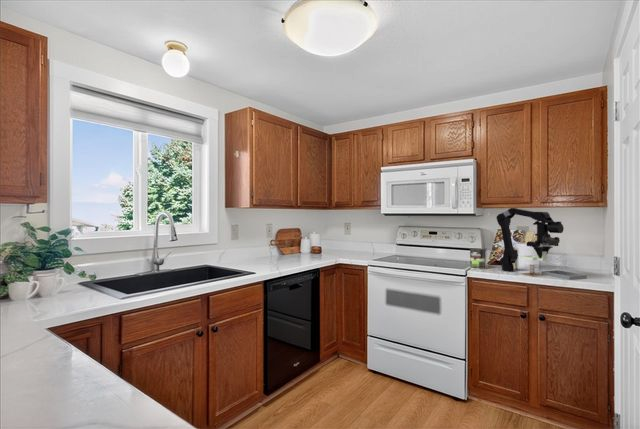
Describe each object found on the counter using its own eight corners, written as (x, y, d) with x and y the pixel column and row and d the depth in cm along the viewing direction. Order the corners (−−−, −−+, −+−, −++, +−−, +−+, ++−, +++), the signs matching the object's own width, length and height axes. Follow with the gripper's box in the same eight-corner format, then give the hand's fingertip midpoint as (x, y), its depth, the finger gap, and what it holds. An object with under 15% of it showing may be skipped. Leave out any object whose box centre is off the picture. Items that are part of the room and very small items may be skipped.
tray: (541, 276, 207) (541, 271, 207) (558, 274, 210) (558, 270, 210) (569, 281, 190) (569, 276, 190) (587, 280, 193) (587, 275, 193)
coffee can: (482, 270, 227) (482, 250, 227) (467, 268, 235) (467, 248, 235) (488, 268, 234) (488, 249, 234) (473, 266, 242) (473, 247, 242)
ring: (520, 258, 209) (520, 249, 209) (531, 257, 212) (531, 249, 212) (539, 261, 197) (539, 251, 197) (550, 260, 199) (550, 251, 199)
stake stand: (517, 275, 210) (517, 264, 210) (531, 274, 213) (531, 263, 213) (533, 278, 199) (533, 266, 199) (547, 277, 202) (547, 266, 202)
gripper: (542, 233, 189) (542, 260, 189) (567, 232, 194) (567, 259, 194) (525, 232, 200) (525, 257, 200) (549, 231, 205) (549, 256, 205)
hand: (542, 257), depth 199 cm, fingers closed on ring, 3 cm apart
